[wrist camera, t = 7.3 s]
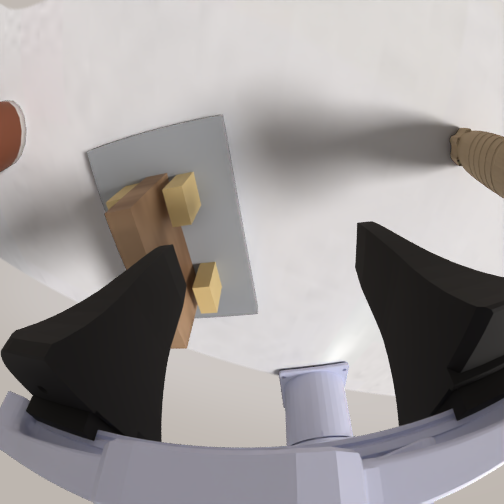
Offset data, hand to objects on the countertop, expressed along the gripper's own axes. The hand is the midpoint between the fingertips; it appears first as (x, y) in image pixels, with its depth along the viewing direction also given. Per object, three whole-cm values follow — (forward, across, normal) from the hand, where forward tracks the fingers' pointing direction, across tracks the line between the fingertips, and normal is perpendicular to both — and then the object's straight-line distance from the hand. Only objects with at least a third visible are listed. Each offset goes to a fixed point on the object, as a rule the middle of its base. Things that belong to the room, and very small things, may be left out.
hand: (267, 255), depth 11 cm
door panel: (+8, +7, +3) cm, 11 cm away
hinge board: (+9, +7, +3) cm, 12 cm away
